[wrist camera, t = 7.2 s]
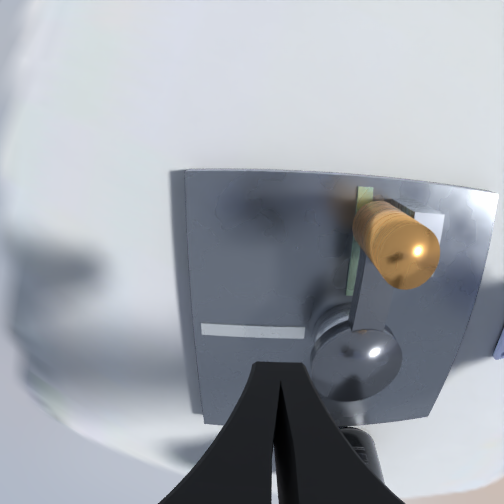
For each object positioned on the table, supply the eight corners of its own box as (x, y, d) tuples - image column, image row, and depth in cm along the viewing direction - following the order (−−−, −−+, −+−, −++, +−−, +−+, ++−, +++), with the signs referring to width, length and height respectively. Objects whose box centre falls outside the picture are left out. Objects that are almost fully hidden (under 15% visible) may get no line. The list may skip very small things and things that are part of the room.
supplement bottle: (281, 455, 24) (280, 574, 13) (333, 415, 22) (354, 553, 11) (336, 472, 25) (348, 575, 14) (388, 436, 23) (418, 549, 12)
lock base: (489, 190, 16) (529, 205, 12) (424, 408, 22) (439, 442, 18) (189, 168, 16) (166, 178, 13) (206, 414, 23) (197, 453, 19)
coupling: (381, 382, 17) (399, 431, 13) (303, 384, 17) (309, 437, 13) (425, 205, 13) (470, 229, 10) (328, 196, 14) (350, 219, 10)
